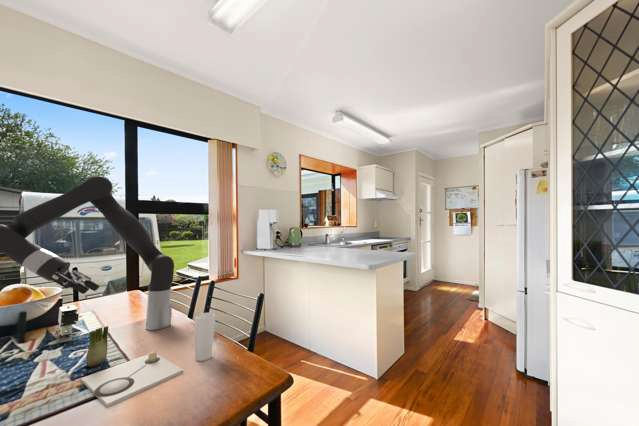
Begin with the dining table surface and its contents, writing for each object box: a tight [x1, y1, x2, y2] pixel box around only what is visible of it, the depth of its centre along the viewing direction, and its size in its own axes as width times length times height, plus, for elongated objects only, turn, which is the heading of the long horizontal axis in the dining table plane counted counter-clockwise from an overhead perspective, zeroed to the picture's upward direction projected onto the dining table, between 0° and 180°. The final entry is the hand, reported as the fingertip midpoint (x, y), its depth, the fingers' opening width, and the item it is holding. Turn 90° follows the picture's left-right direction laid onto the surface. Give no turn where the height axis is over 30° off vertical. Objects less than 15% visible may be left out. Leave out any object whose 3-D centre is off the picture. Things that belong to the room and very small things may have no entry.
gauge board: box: [80, 350, 184, 408], centre depth 80 cm, size 20×20×3 cm
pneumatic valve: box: [57, 304, 80, 337], centre depth 111 cm, size 6×12×12 cm, turn 50°
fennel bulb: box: [85, 325, 109, 368], centre depth 87 cm, size 6×5×12 cm
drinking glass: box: [194, 312, 216, 362], centre depth 93 cm, size 7×7×15 cm
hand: (92, 290), depth 91 cm, fingers open, 8 cm apart
